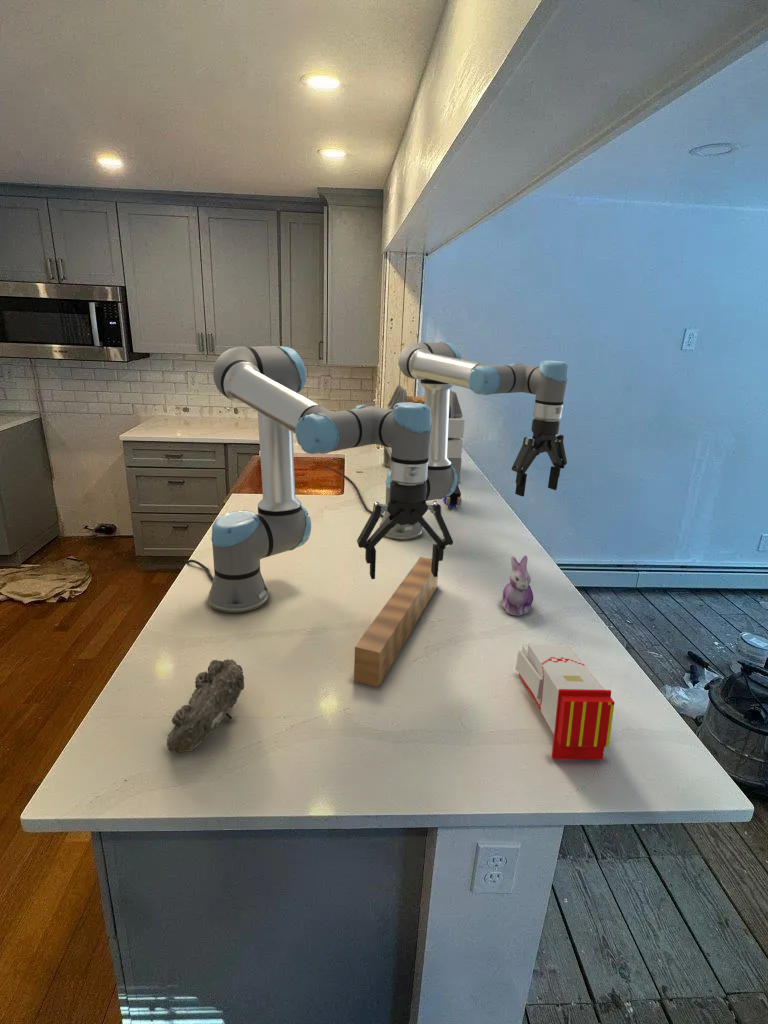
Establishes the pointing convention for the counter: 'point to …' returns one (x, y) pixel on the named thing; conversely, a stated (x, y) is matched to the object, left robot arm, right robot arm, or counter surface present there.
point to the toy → (568, 700)
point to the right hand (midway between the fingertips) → (536, 492)
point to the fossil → (206, 705)
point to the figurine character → (453, 498)
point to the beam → (394, 624)
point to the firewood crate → (453, 427)
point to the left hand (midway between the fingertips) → (403, 575)
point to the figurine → (518, 589)
